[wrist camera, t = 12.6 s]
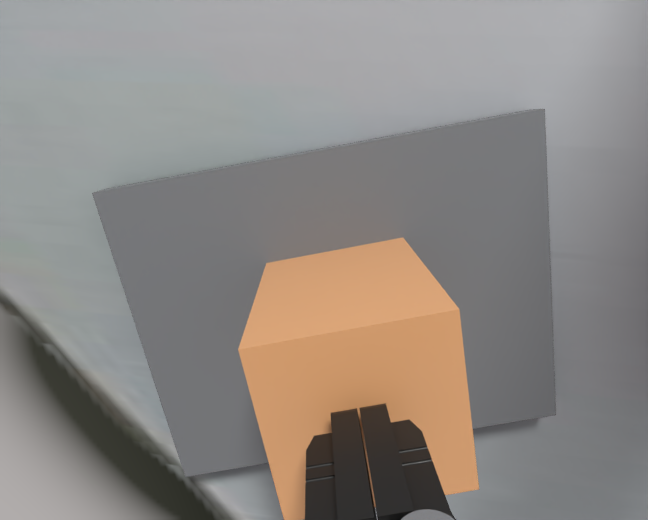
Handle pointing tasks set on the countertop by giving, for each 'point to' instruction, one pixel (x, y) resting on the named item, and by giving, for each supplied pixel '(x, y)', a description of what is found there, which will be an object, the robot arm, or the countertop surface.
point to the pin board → (333, 234)
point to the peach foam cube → (356, 359)
